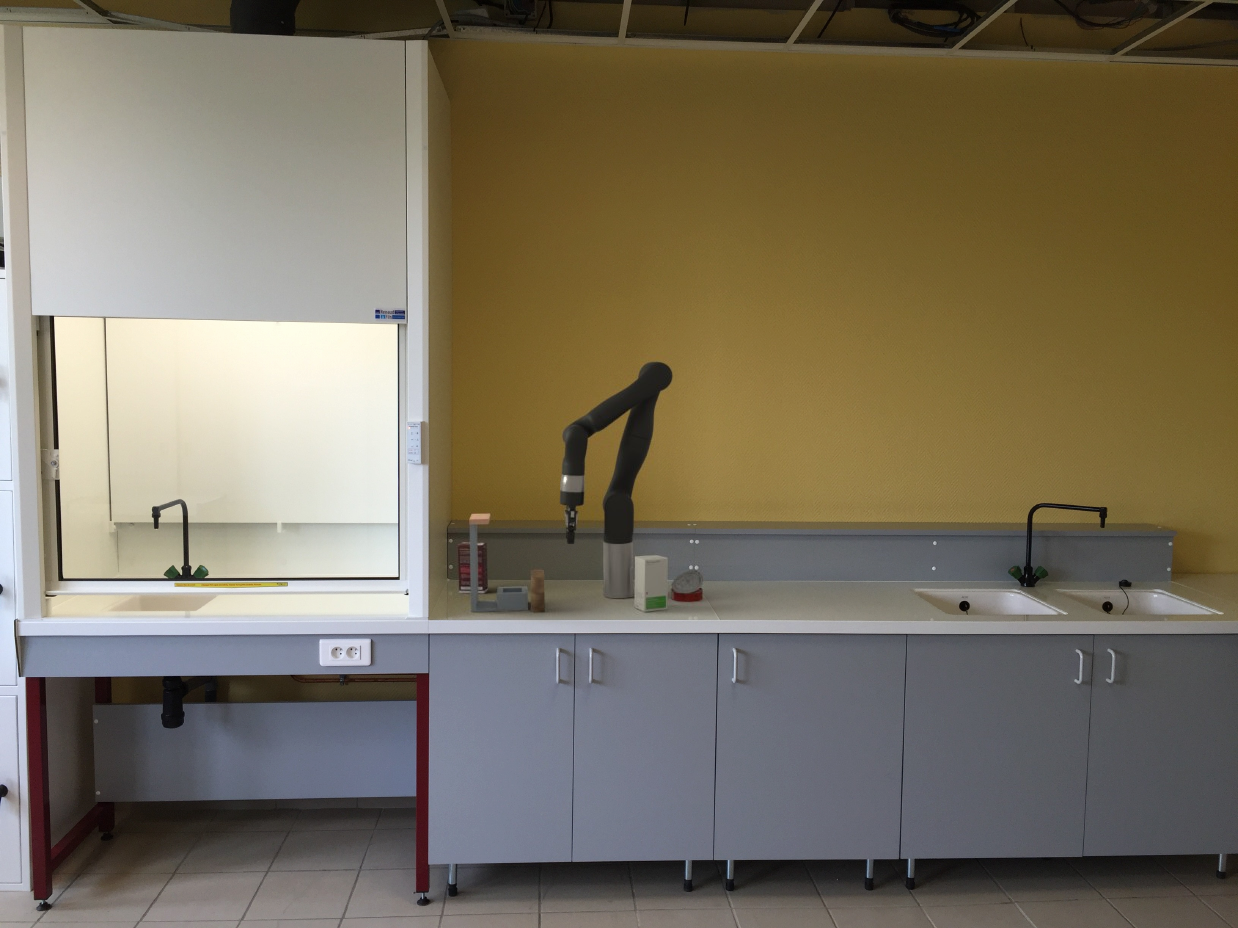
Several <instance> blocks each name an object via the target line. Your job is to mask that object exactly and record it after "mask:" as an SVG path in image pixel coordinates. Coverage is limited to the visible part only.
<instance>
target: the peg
mask: <svg viewBox="0 0 1238 928" xmlns="http://www.w3.org/2000/svg"><path fill="white" fill-rule="evenodd" d="M545 590H546V587H545V570H544V569H530V612H531V613H534V614H535V613H536V614H539V613H540V614H541V613H544V612H545V608H546V605H545V600H546V599H545V595H546V593H545Z"/></svg>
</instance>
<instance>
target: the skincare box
mask: <svg viewBox="0 0 1238 928" xmlns="http://www.w3.org/2000/svg"><path fill="white" fill-rule="evenodd" d="M668 562H669V558H668V557H666V556H662V555H659V554H656V555H655V554H654V555H641V556H639V555H637V556H634V608H635V609H636V610H639V611H641V612H642V613H643V612H644V613H648V612H655V611H657V612H658V611H663V610H664V611H666V610H668V587H669V586H668V583H669V582H668V579H669V578H668V576H669V575H668V572H669V569H668V568H669V566H668V564H669V563H668Z"/></svg>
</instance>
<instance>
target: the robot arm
mask: <svg viewBox="0 0 1238 928" xmlns="http://www.w3.org/2000/svg"><path fill="white" fill-rule="evenodd" d="M673 377H674V376H673V370H672V369H671V367H670V366H669V365H668V364H667V363H664V362H661V361H651V362H649V361H648V362H646V363H645V364H643V365H642V367H641V368H640V370H639V372H638V376H637V379H636V380H634V381H633V383H631V384H630V385H628V386H627V387H625V388H623V389H622V390H620V391H619V392H617V393H615V394H612V395H611V396H609V397H608V398H606V399H605V400H603V401H602V402H601V403H599V404H598V405H596V406H595V407H593V408H592V409H591V410H590V411H589V412H588V413H586V414H585V415H583V416H581V417H579V418H578V419H576V420H575V421H572V422H571V423H570V424H569V425H567V426H566V427H565V428H564V429H563V431H562V441H563V442H564V445H565V446H564V456H563V458H562V463H561V479H560V490H559V504H560V505H561V506H566V507H565V508H566V509H564V523H565V526H566V527H565V529H566V530H565V539H566V543H567V544H568V545H574V544H575V537H576V536H575V535H576V530H577V526H578V517H579V510H577V509H576V507H581V506H583V505H585V493H586V492H585V490H586V486H585V485H586V481H585V479H586V478H585V472H586V471H585V470H586V457H587V456H586V455H587V449H588V445H589V444H588V443H589V438H590V437H592V436H593V435H595V434H596V433H598V432H602V431H603V430H605V429H606V428H607V427H609V426H610V425H612V424H613V423H614V422H615V421H617V420H618V419H619V418H621V417H622V416H623V415H625V414H626V413H627V412H628V411H629V413H628V417H627V419H626V423H625V426H624V430H623V432H622V435H621V439H620V443H619V448H618V452H617V454H616V461H615V466H614V470H613V474H612V477H611V479H610V482H609V485H608V487H607V490H606V492H605V494H604V496H603V500H602V510H603V512H604V513H603V515H604V517H603V520H604V521H603V522H604V528H603V529H604V530H603V537H602V538H603V539H602V540H603V544H602V545H603V547H602V549H603V550H602V551H603V554H602V555H603V565H602V566H603V568H602V569H603V589H602V590H603V596H604V597H606V598H611V599H626V598H632V597H634V598H635V566H633V563H634V562H633V559H634V558H633V551H634V549H633V545H634V544H633V540H634V539H633V536H634V531H635V528H634V527H635V525H634V523H635V507H634V506H635V505H634V502H633V499H632V496H633V495H632V494H633V490H634V487H635V482H636V479H637V476H638V474H639V472H640V471H641V469H642V467H643V464H644V463H645V461H646V458H647V455H648V453H649V451H650V448H651V447H650V446H651V443H652V439H653V437H654V436H653V434H654V425H655V424H654V423H655V410H656V405H657V402H658V399H659V396H660V394H661V392H662V391H664V390H666V389H667V388H669V386H670V385H671V384H672V381H673Z"/></svg>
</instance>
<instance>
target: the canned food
mask: <svg viewBox="0 0 1238 928" xmlns="http://www.w3.org/2000/svg"><path fill="white" fill-rule="evenodd" d="M703 584H704V577H703V575H702V573H701V572H700V571H698V570H696V569H691V570H688V571H685V572H682V573H680V574H679V575H677V576H676V577H675V578H674V579H673V580H672V583H671V589H670V593H671V596H670V598H671V600H673V601H675V602H680V603H695V602H696V603H697V602H700V601H702V600H703V589H704V588H702V587H703Z"/></svg>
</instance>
